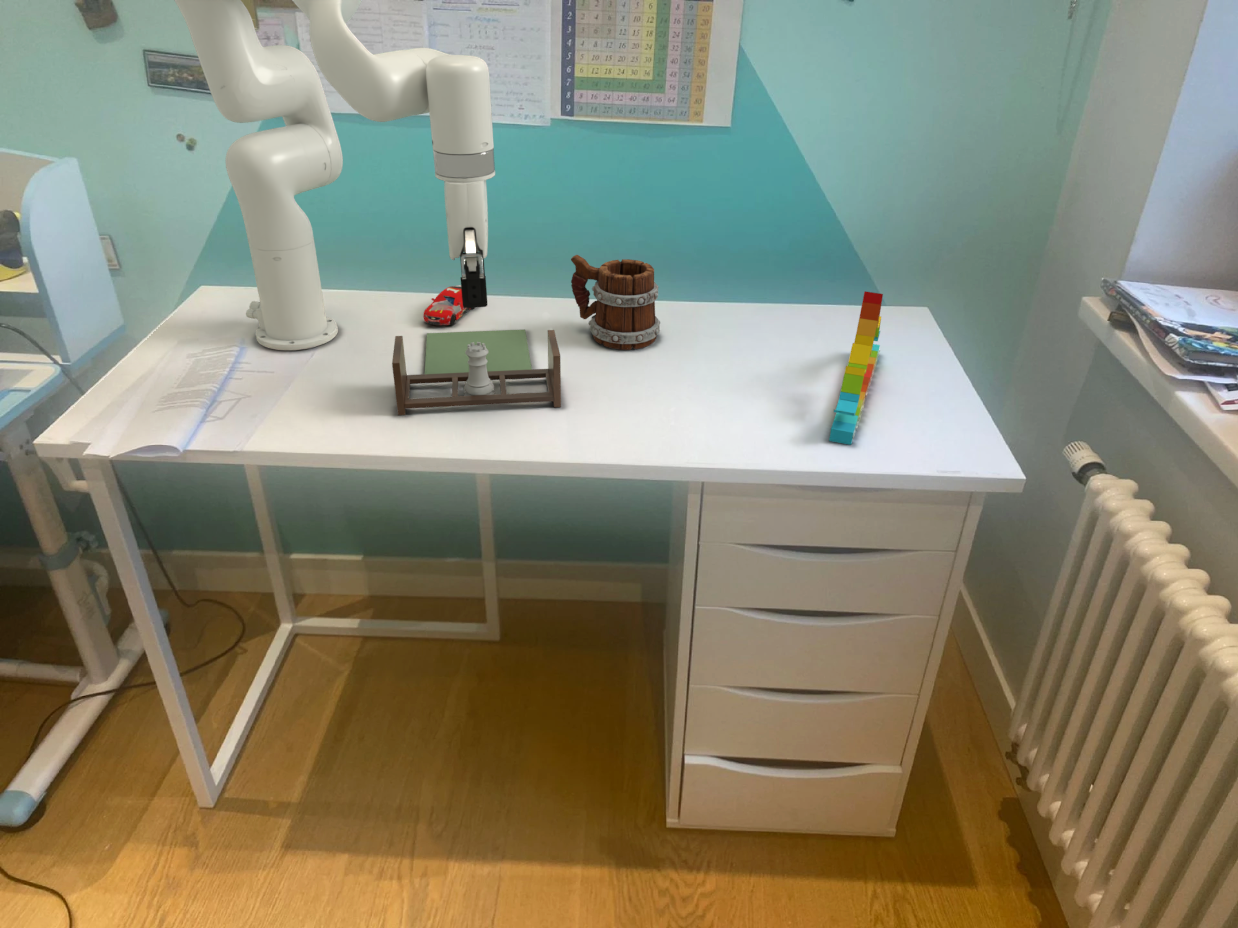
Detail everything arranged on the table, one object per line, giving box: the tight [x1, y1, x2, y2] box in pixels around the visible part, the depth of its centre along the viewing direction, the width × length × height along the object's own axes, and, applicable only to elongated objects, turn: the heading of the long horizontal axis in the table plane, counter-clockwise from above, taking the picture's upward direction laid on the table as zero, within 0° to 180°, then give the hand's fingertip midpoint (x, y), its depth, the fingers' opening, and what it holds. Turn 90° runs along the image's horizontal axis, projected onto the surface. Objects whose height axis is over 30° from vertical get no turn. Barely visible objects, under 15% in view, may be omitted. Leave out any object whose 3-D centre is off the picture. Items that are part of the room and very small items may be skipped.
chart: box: [828, 291, 884, 446], centre depth 132 cm, size 30×3×15 cm, turn 160°
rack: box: [391, 329, 562, 416], centre depth 130 cm, size 9×23×8 cm, turn 99°
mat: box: [424, 329, 533, 374], centre depth 144 cm, size 16×16×1 cm
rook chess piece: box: [463, 342, 496, 396], centre depth 130 cm, size 4×4×8 cm
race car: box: [422, 284, 476, 326], centre depth 157 cm, size 13×5×4 cm, turn 161°
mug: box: [570, 254, 661, 351], centre depth 148 cm, size 12×14×15 cm
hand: (474, 293), depth 124 cm, fingers open, 9 cm apart
